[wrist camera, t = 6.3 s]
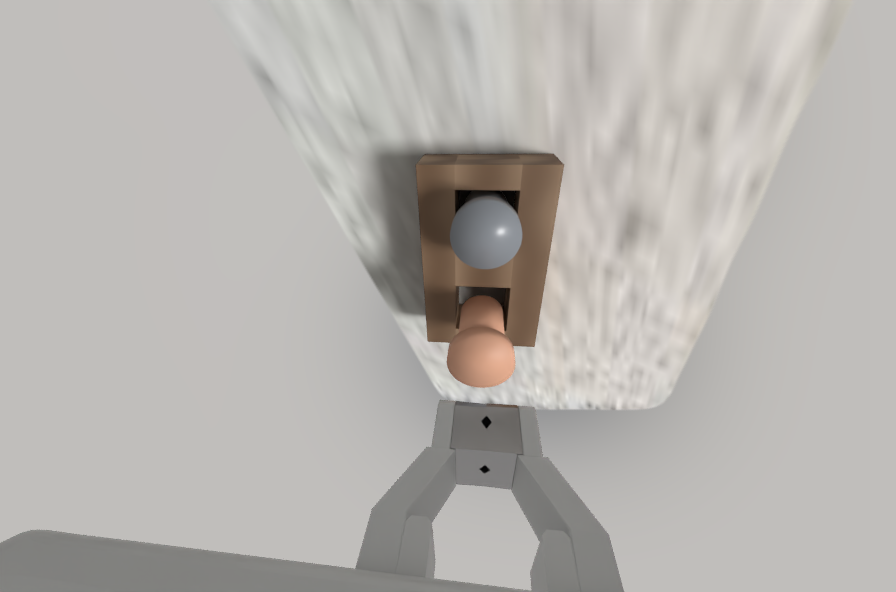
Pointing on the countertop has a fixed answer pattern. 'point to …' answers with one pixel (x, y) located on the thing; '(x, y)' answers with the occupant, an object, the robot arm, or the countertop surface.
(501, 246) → the grey plug
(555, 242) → the countertop surface
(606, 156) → the countertop surface
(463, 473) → the robot arm
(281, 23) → the countertop surface
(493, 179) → the wooden frame holder
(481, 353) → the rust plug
